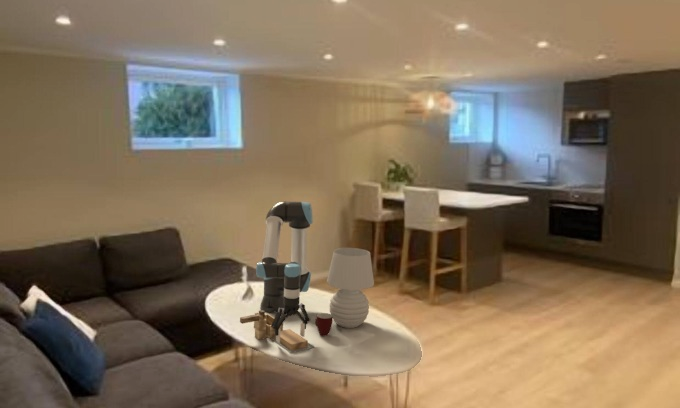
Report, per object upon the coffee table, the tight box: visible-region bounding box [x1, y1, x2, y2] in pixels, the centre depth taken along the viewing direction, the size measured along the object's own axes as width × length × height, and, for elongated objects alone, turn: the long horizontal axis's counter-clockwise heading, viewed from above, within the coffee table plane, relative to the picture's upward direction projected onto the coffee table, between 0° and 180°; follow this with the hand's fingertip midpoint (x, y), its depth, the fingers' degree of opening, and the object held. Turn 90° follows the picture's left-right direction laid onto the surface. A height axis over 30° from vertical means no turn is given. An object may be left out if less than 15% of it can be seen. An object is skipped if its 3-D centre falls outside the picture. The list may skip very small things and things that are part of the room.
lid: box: [274, 328, 309, 351], centre depth 249 cm, size 9×17×3 cm, turn 36°
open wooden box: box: [253, 312, 284, 340], centre depth 261 cm, size 13×16×12 cm
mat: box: [270, 337, 315, 354], centre depth 250 cm, size 13×20×1 cm, turn 36°
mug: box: [314, 312, 333, 337], centre depth 262 cm, size 10×8×10 cm
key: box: [239, 309, 266, 324], centre depth 250 cm, size 12×2×4 cm, turn 126°
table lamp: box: [326, 247, 375, 329], centre depth 275 cm, size 25×25×40 cm
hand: (290, 338), depth 249 cm, fingers open, 13 cm apart
